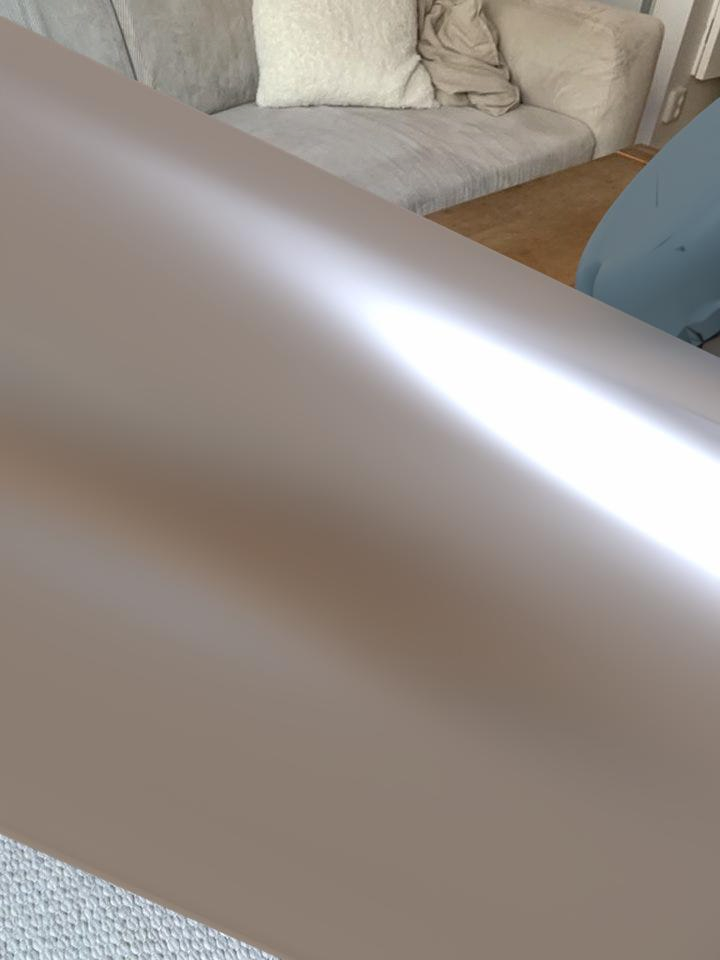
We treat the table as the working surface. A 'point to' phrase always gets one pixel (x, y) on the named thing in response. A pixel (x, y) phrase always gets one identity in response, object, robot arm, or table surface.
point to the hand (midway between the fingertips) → (481, 576)
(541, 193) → the table surface
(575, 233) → the table surface
